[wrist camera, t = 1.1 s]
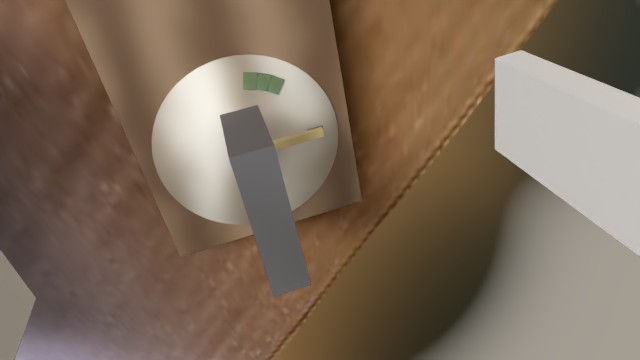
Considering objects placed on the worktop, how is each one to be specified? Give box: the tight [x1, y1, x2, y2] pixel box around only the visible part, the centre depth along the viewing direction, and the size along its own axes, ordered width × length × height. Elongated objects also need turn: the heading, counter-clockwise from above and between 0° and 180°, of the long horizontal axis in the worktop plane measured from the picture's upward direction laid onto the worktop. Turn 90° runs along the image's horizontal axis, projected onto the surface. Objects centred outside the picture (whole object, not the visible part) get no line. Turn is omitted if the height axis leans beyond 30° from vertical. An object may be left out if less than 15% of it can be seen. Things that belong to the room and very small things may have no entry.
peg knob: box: [220, 105, 324, 297], centre depth 32 cm, size 7×10×11 cm
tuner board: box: [66, 0, 362, 257], centre depth 36 cm, size 16×22×4 cm
